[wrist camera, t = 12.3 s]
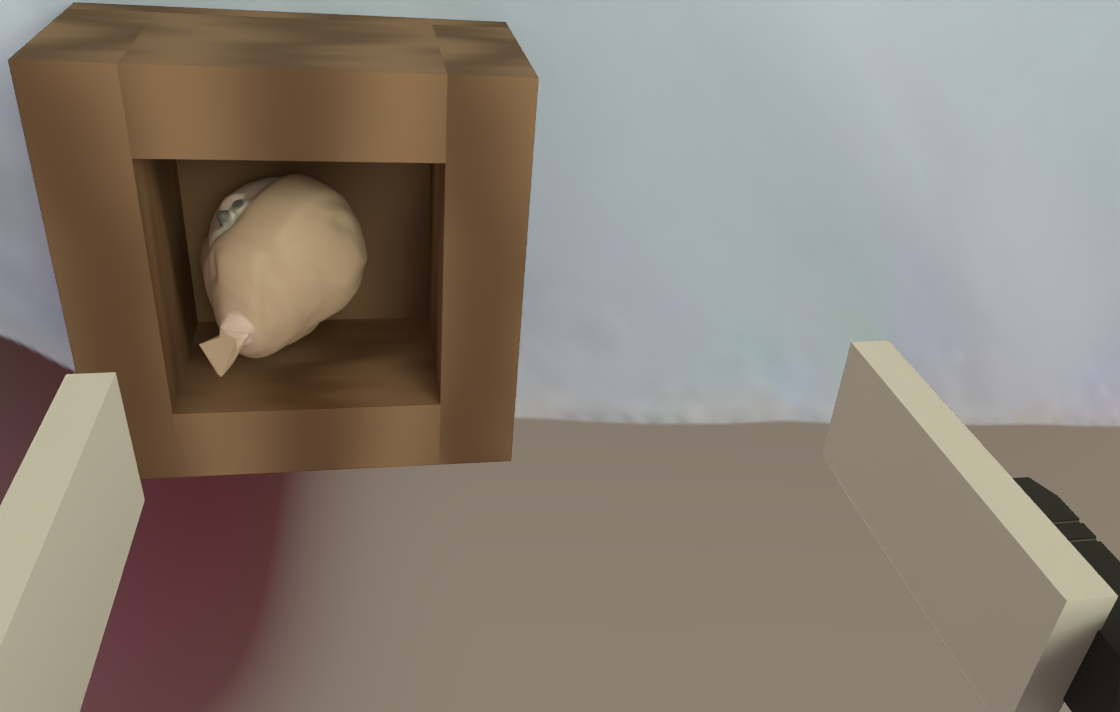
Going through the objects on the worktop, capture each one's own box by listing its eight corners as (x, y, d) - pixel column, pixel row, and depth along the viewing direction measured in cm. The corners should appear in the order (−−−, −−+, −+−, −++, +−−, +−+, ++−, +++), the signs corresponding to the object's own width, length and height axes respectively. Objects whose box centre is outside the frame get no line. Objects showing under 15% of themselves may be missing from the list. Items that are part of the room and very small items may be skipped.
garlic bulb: (182, 172, 38) (146, 261, 31) (340, 137, 38) (337, 217, 31) (239, 312, 41) (218, 418, 35) (383, 278, 42) (389, 377, 35)
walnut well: (505, 22, 38) (538, 78, 31) (487, 359, 46) (511, 460, 39) (73, 2, 35) (7, 60, 28) (138, 369, 43) (100, 481, 36)
